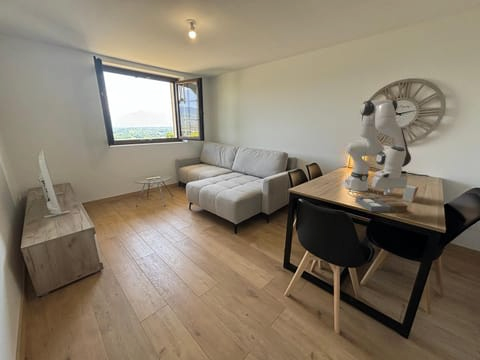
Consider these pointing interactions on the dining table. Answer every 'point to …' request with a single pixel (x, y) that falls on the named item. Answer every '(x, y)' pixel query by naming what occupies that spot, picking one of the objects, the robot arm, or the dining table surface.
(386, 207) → the bin
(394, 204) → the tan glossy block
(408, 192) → the small box
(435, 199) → the dining table surface
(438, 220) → the dining table surface
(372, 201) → the tile
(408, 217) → the dining table surface
